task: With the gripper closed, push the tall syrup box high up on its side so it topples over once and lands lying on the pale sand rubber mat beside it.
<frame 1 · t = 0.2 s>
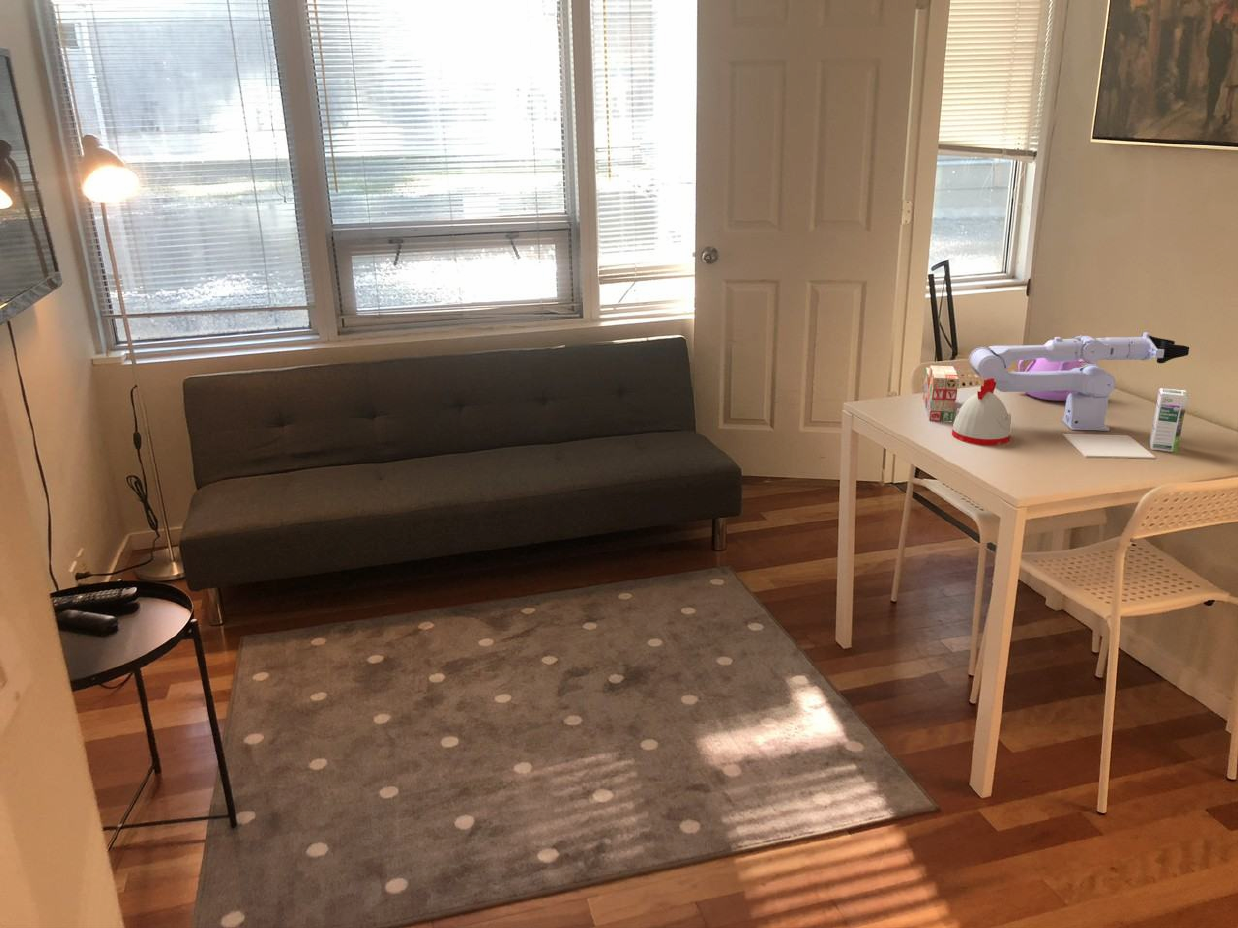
hand: (1180, 348, 246), 21 cm above the table, tool horizontal, fingers open, 7 cm apart
teapot: (1053, 398, 279), on the table
syrup box: (1162, 448, 239), on the table
stack of blocks: (937, 410, 269), on the table
white chicken dome: (980, 437, 248), on the table
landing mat: (1107, 446, 240), on the table
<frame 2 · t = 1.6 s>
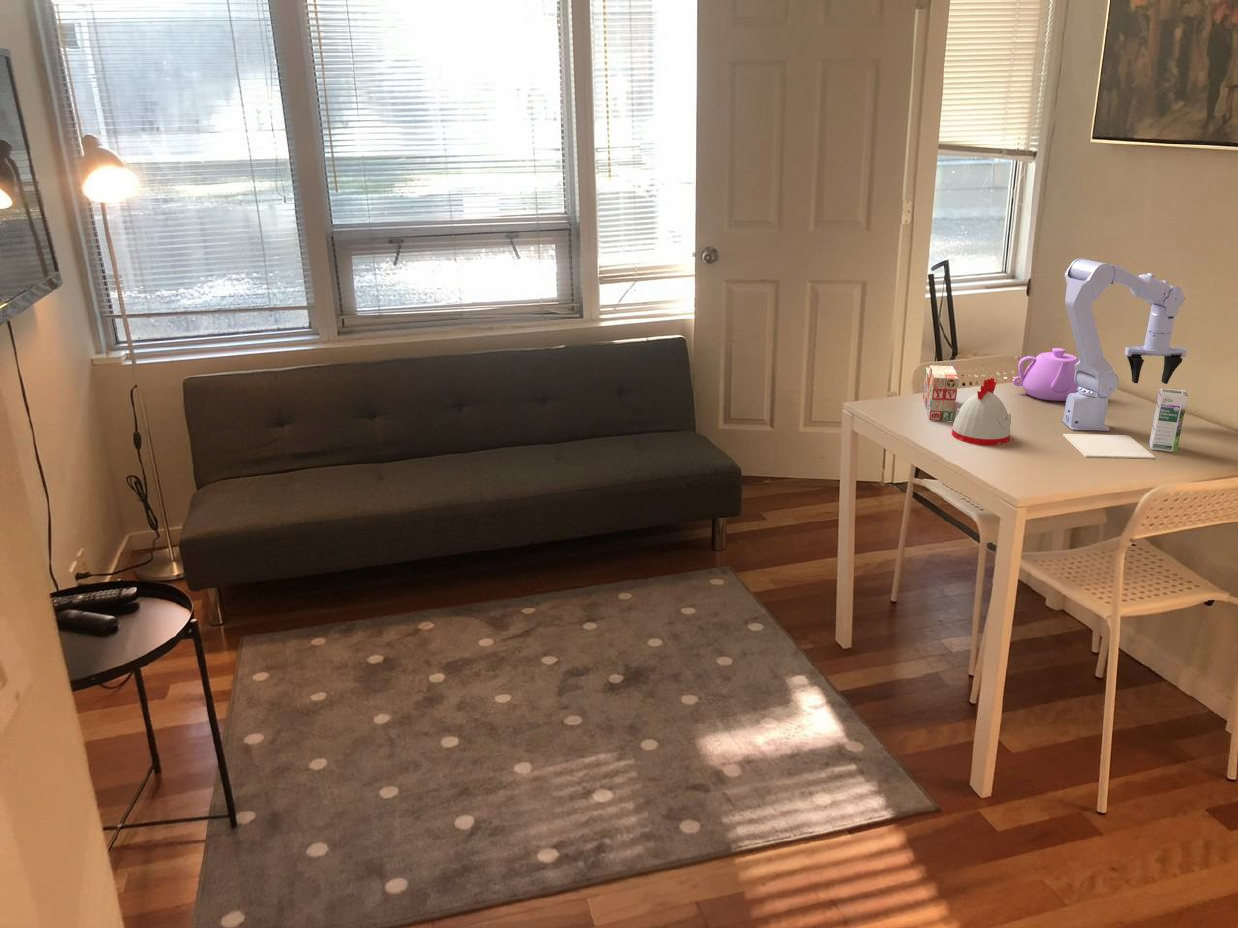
hand: (1149, 382, 255), 10 cm above the table, tool pointing down, fingers open, 7 cm apart
nothing on the table moved.
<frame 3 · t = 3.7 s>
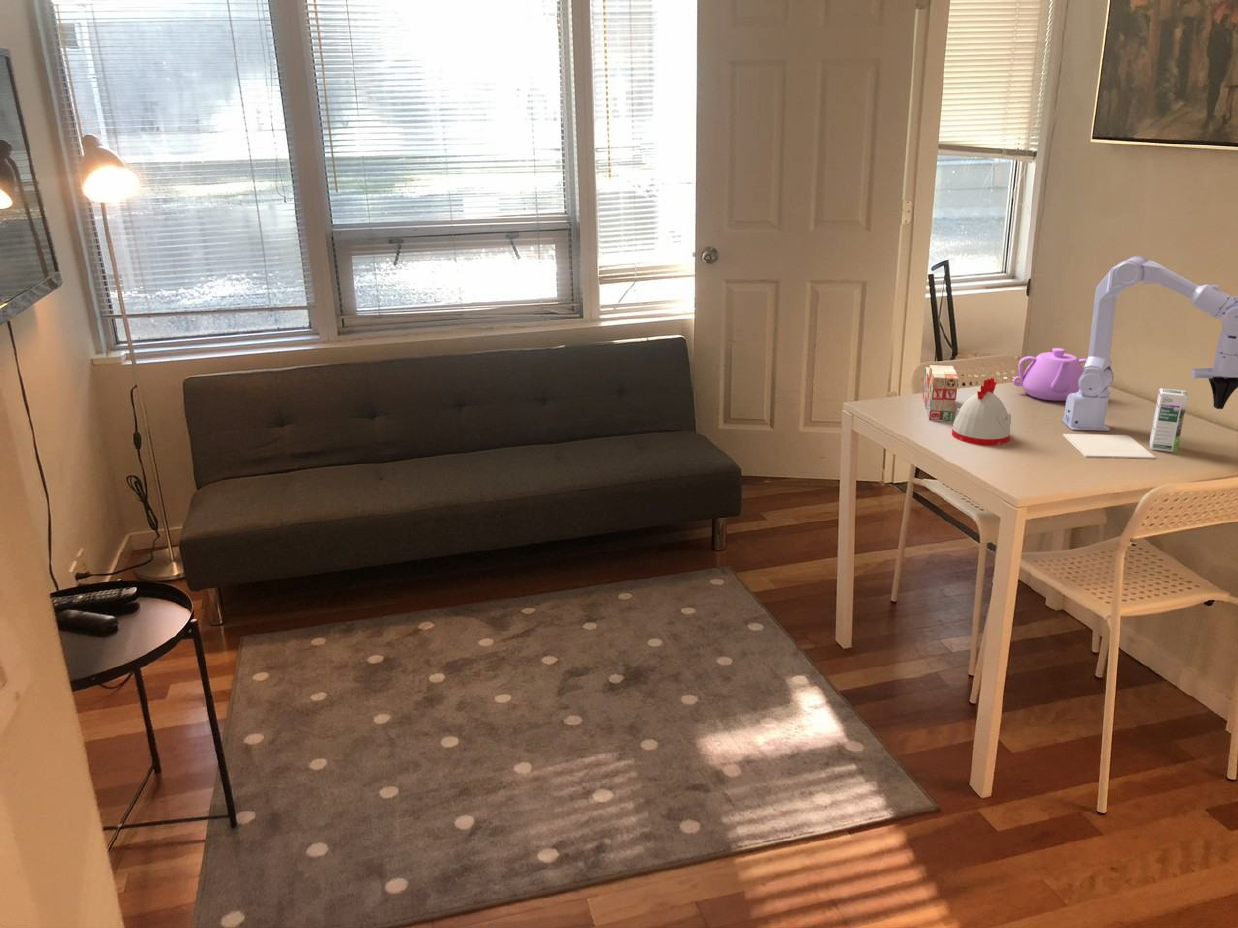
hand: (1218, 407, 234), 10 cm above the table, tool pointing down, fingers closed
nothing on the table moved.
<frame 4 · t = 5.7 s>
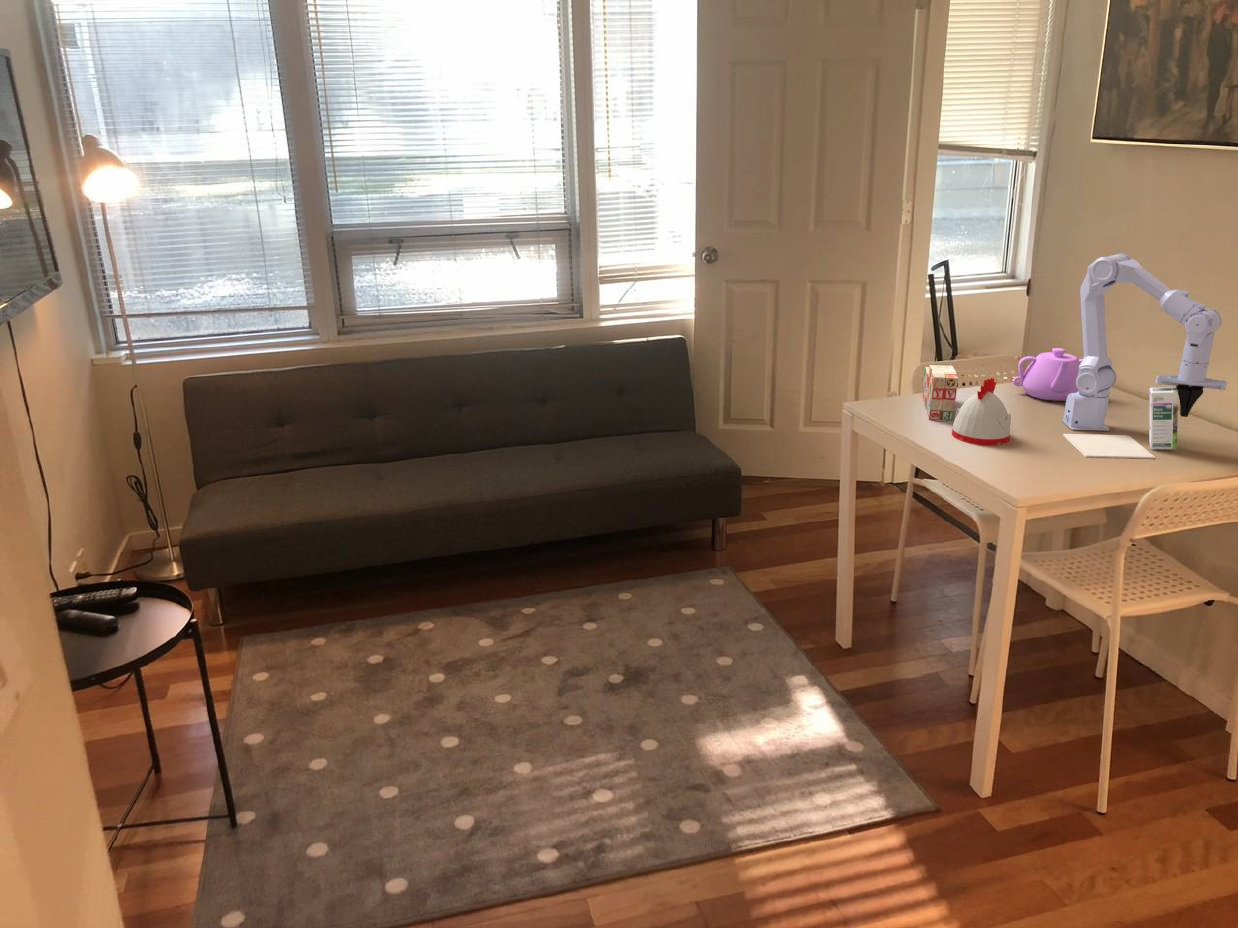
hand: (1183, 415, 235), 8 cm above the table, tool pointing down, fingers closed
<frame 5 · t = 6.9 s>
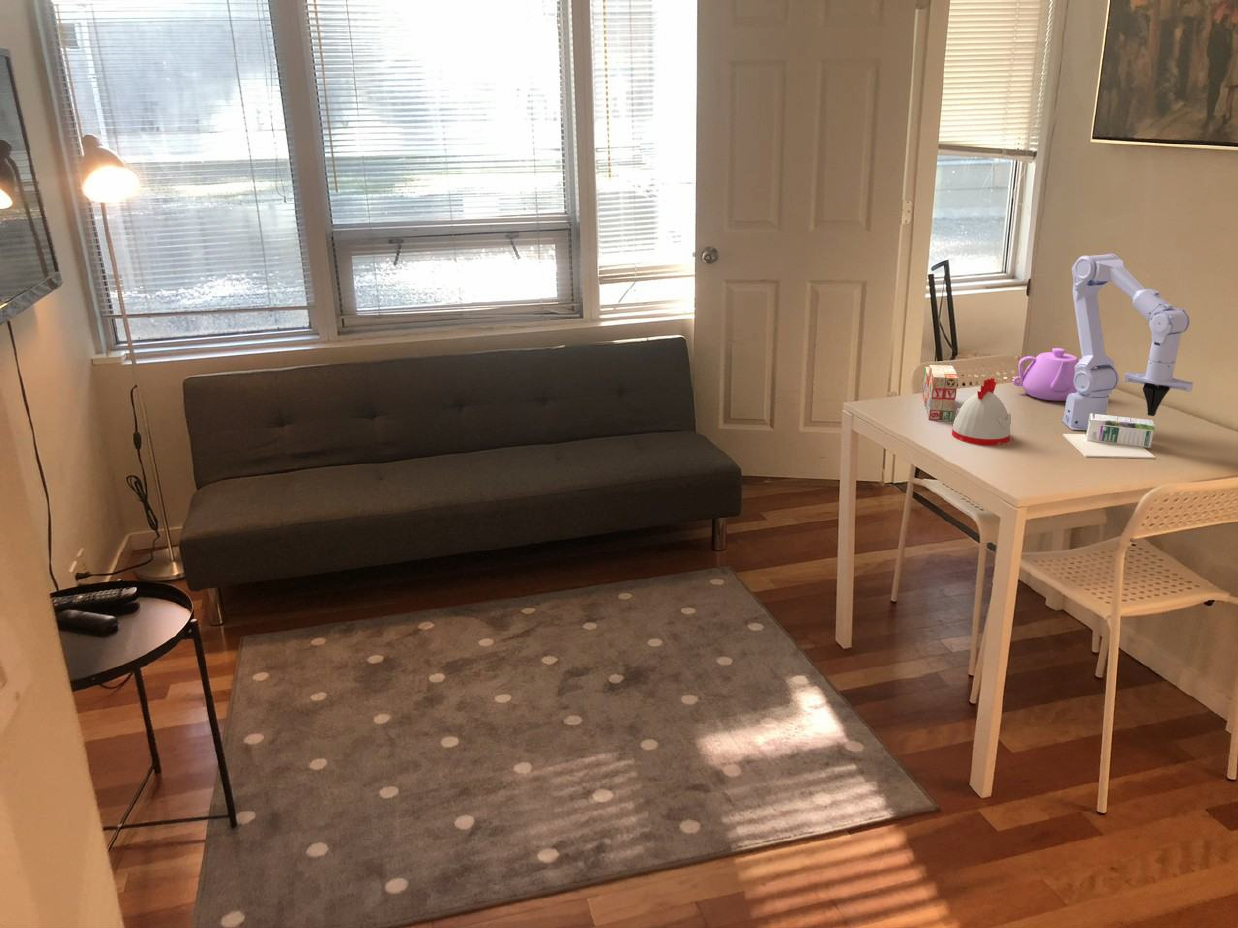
hand: (1151, 414, 236), 8 cm above the table, tool pointing down, fingers closed
syrup box: (1153, 434, 239), point 3 cm above the table, touching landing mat
everything else where it was.
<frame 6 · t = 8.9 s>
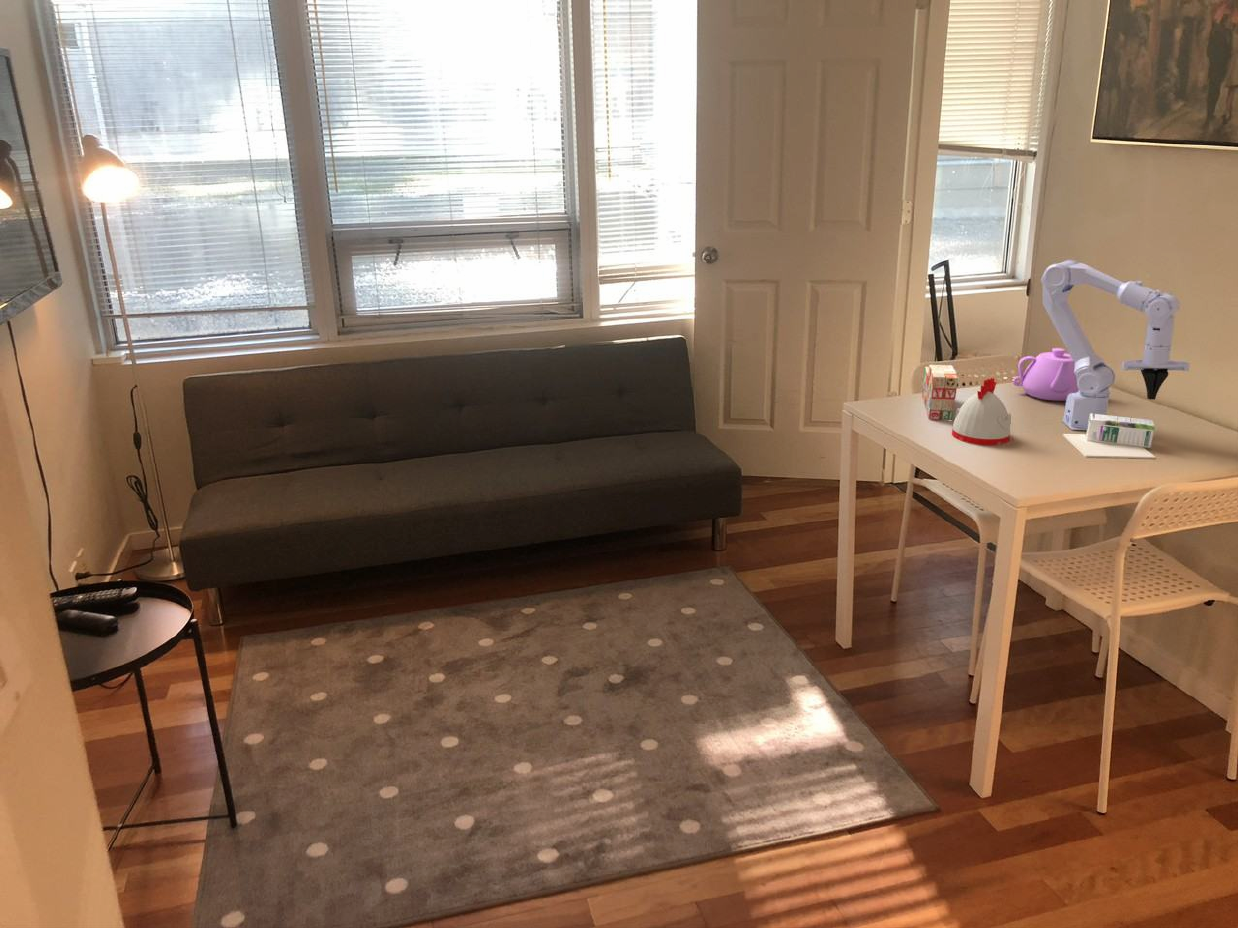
hand: (1151, 398, 242), 10 cm above the table, tool pointing down, fingers closed
nothing on the table moved.
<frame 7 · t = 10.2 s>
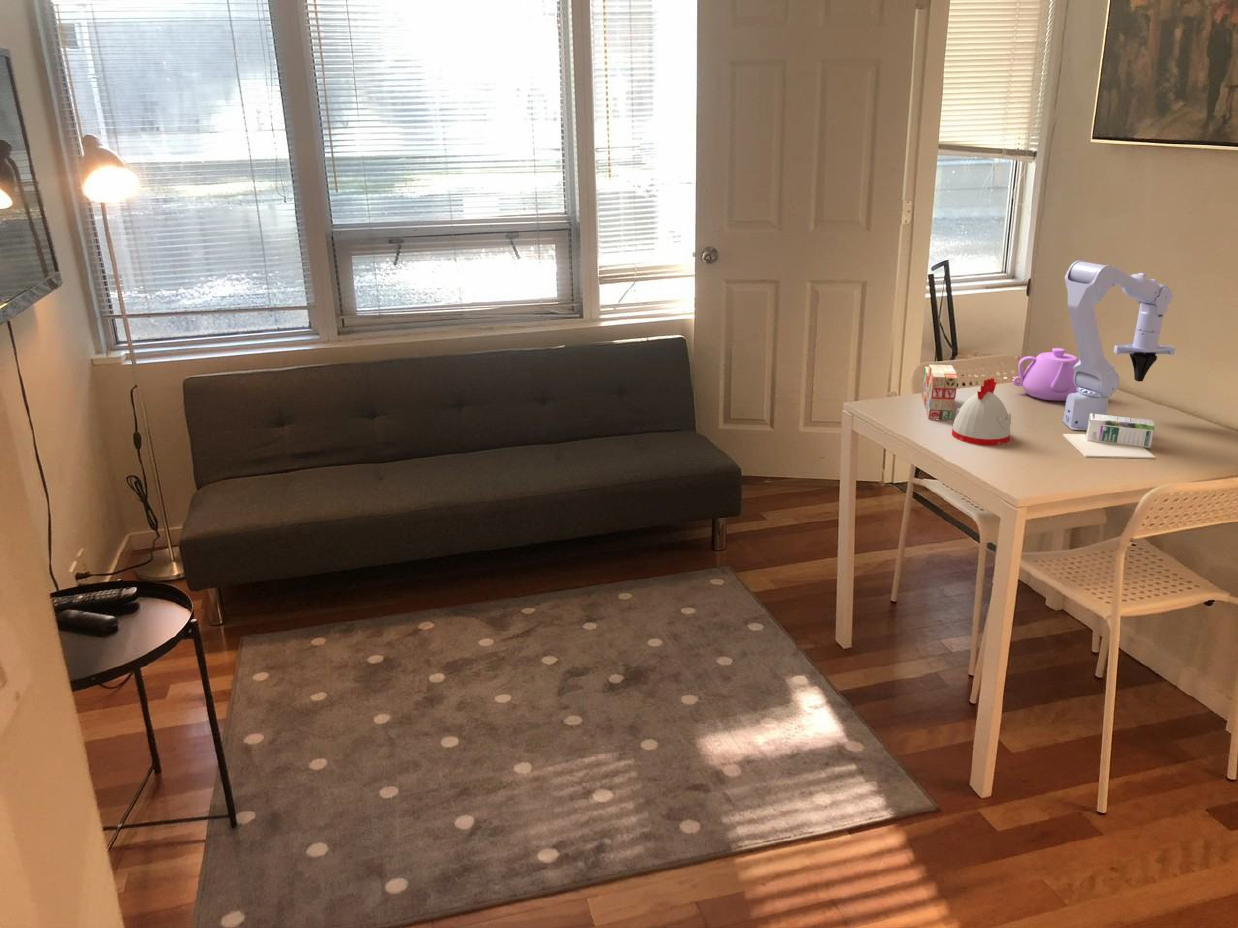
hand: (1138, 380, 257), 10 cm above the table, tool pointing down, fingers closed
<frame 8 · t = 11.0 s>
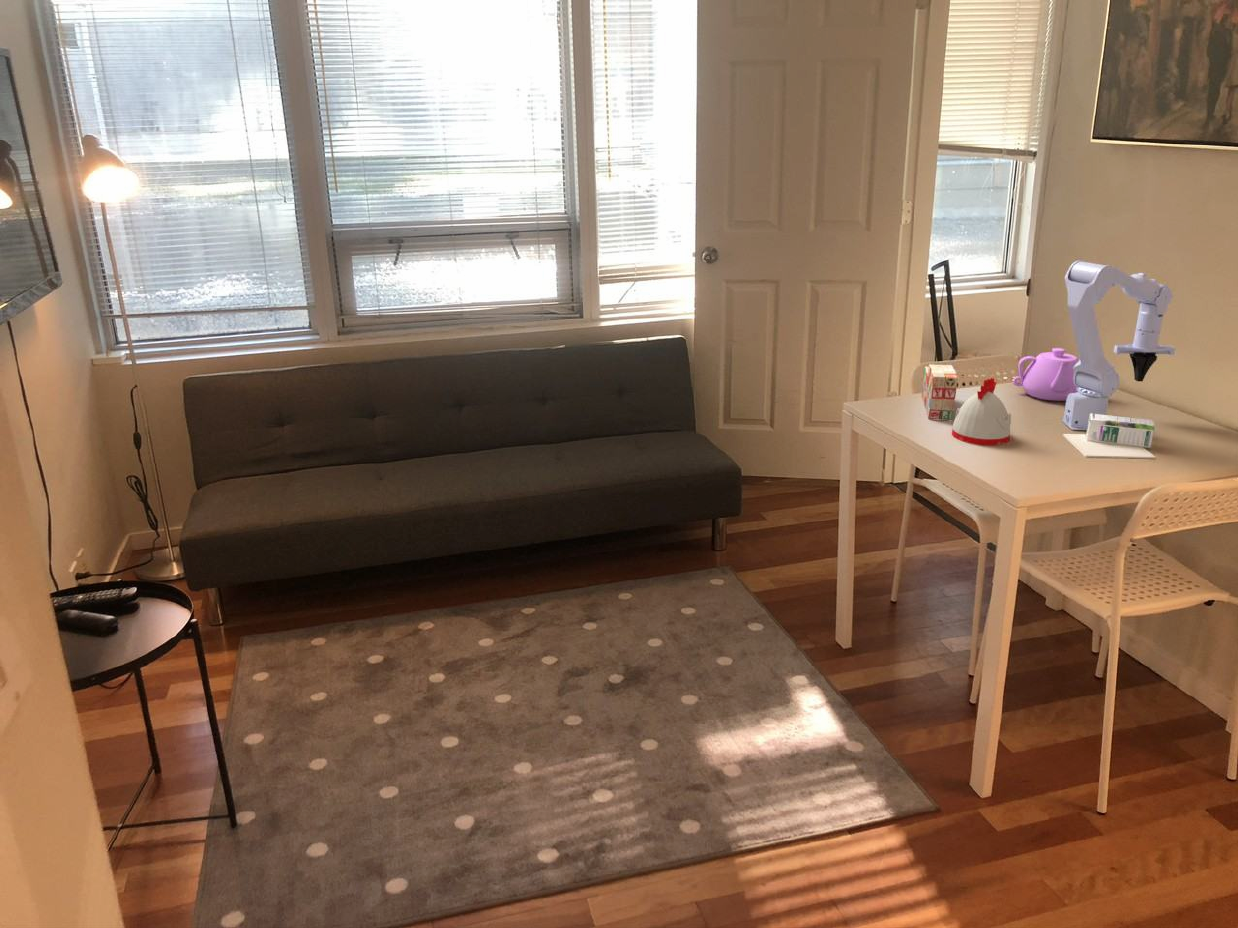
hand: (1138, 380, 257), 10 cm above the table, tool pointing down, fingers closed
at the end: syrup box tilted 90°; syrup box touching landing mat; syrup box inside the target area (6.2 cm from its centre), point 3.2 cm above the table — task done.
